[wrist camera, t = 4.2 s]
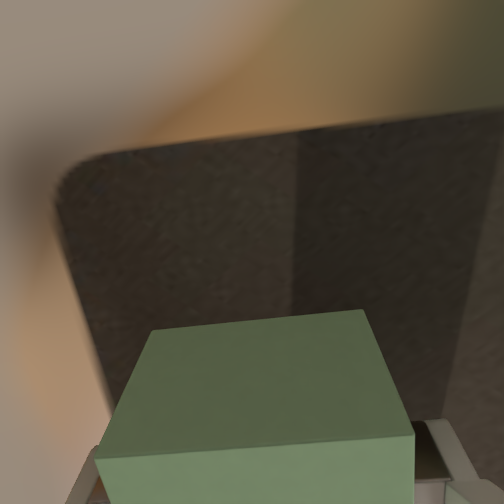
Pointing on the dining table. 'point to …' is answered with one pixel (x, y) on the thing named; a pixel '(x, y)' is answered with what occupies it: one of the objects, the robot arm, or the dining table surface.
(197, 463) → the green block
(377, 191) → the dining table surface
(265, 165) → the dining table surface
